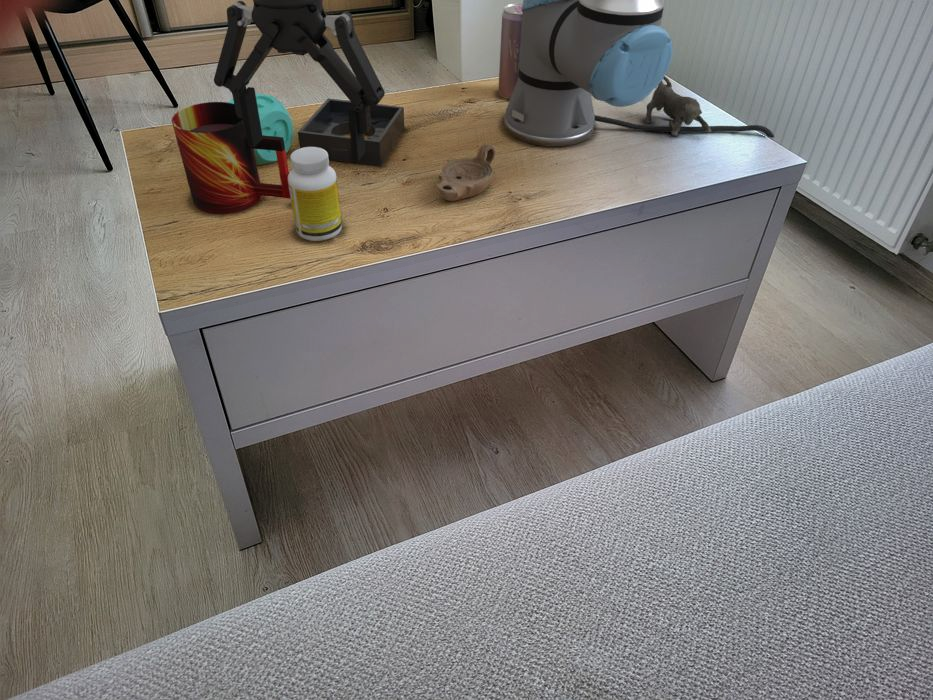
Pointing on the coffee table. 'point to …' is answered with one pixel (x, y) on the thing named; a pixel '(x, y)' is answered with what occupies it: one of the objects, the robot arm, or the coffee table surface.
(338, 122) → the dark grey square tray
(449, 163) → the oil lamp
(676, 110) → the dog figurine
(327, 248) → the coffee table surface
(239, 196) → the mug
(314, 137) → the dark grey storage tray
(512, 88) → the beverage can
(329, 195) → the pill bottle
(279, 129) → the decorative dice
